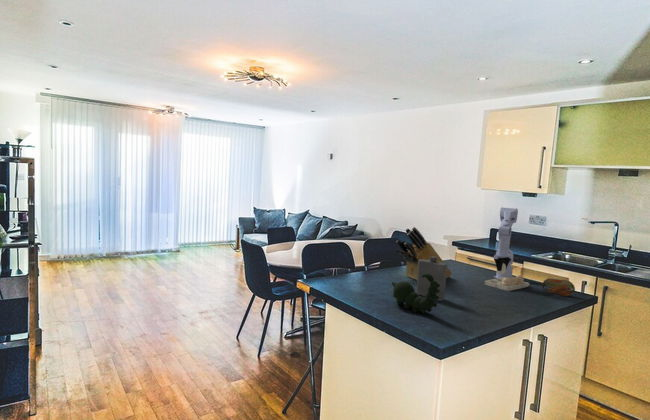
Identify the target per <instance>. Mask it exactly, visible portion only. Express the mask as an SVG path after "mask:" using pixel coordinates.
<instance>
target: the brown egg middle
mask: <svg viewBox="0 0 650 420" xmlns="http://www.w3.org/2000/svg"><path fill="white" fill-rule="evenodd" d="M509 279H510V281H511V284H512V285H517V279H516V276H512V277H510V278H509Z"/></svg>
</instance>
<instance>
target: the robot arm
mask: <svg viewBox="0 0 650 420" xmlns="http://www.w3.org/2000/svg"><path fill="white" fill-rule="evenodd" d="M518 214H519V209H518V208H513V207H512V208H511V207H500V210H499V219H500V226H499V227H498V245H497V249H496V253H495V254H494V255H493V261H494V263H495V266H496V275H494V276H493V278H495V279H497V278H503V277H507V278H510V277H513V270H514V269H513V266H512V265H513V263H514V251H513V250H511V249H510V244H511V243H510V242H511V237H512V231H513V230H512V226H513V225H514V224H515V223H517V220H518ZM503 263H504V264H505V265H506V273H505V274H500V273H497V271H501V270H502V265H503Z"/></svg>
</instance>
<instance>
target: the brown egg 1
mask: <svg viewBox="0 0 650 420" xmlns="http://www.w3.org/2000/svg"><path fill="white" fill-rule="evenodd" d="M510 284H511V281H510V279H508V278H504V279H503V280H502V285H503V286H507V287H509V286H510Z"/></svg>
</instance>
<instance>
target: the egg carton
mask: <svg viewBox="0 0 650 420" xmlns="http://www.w3.org/2000/svg"><path fill="white" fill-rule="evenodd" d="M504 278H507V277H503V278H493V279H487V280H484V284H483V285H486V286H489V287H493V288H496V289H500V290H504V291H507V292H510V291H514V290H519V289H523V288H527V287H530V282H528V281H524V282H523V284H520V283H517V285H512V284H510V286H509V287H507V286H503V285H502V280H503V279H504ZM508 279H509V278H508Z"/></svg>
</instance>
